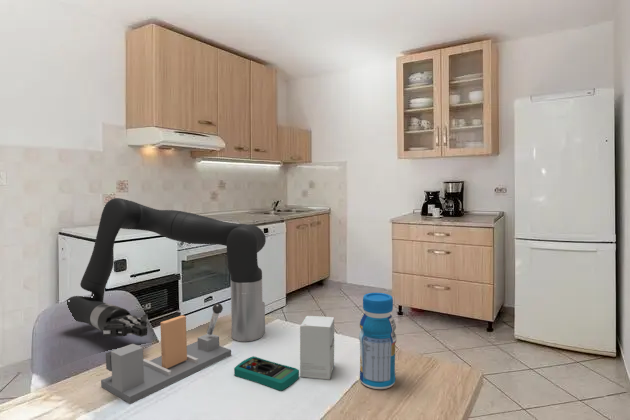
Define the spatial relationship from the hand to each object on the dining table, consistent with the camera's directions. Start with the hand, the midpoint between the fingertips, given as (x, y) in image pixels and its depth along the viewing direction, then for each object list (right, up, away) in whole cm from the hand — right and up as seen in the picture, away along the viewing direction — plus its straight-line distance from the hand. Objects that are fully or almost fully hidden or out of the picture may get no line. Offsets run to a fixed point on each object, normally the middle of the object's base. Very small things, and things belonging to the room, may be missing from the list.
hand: (144, 332), depth 103 cm
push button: (-1, -4, -13) cm, 14 cm away
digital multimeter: (+33, -8, -9) cm, 35 cm away
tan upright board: (+10, -5, -7) cm, 14 cm away
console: (+9, -7, -6) cm, 13 cm away
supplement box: (+45, -8, -7) cm, 46 cm away
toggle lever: (+16, -2, +3) cm, 16 cm away
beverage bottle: (+59, -8, -12) cm, 61 cm away
